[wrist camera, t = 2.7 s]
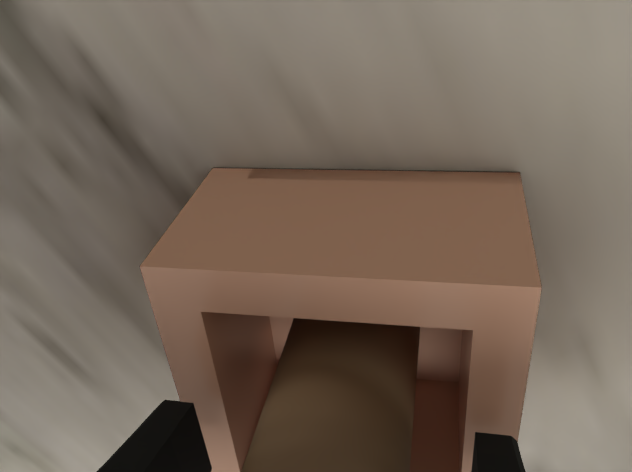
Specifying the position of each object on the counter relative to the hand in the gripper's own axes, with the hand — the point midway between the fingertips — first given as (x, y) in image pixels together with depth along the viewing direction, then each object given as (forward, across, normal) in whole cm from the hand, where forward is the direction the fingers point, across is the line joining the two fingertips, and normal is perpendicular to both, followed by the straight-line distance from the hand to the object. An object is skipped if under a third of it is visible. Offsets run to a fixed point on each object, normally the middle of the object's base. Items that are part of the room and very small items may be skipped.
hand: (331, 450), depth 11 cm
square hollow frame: (+5, 0, 0) cm, 5 cm away
